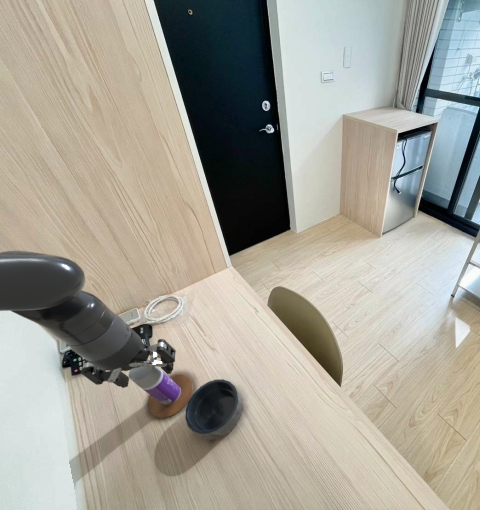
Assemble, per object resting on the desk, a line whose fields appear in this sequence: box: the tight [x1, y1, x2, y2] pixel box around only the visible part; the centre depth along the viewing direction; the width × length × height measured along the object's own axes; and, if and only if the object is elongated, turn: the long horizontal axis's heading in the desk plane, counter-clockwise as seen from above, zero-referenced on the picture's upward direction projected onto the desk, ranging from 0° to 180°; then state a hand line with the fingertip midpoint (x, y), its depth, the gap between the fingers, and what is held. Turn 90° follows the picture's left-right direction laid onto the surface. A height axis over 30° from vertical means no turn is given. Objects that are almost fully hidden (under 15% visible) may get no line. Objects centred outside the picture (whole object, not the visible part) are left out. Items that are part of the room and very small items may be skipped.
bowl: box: [184, 378, 244, 441], centre depth 63 cm, size 11×11×6 cm
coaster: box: [148, 373, 194, 419], centre depth 67 cm, size 10×10×1 cm
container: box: [128, 359, 181, 405], centre depth 62 cm, size 5×5×15 cm
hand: (149, 376), depth 59 cm, fingers open, 8 cm apart
